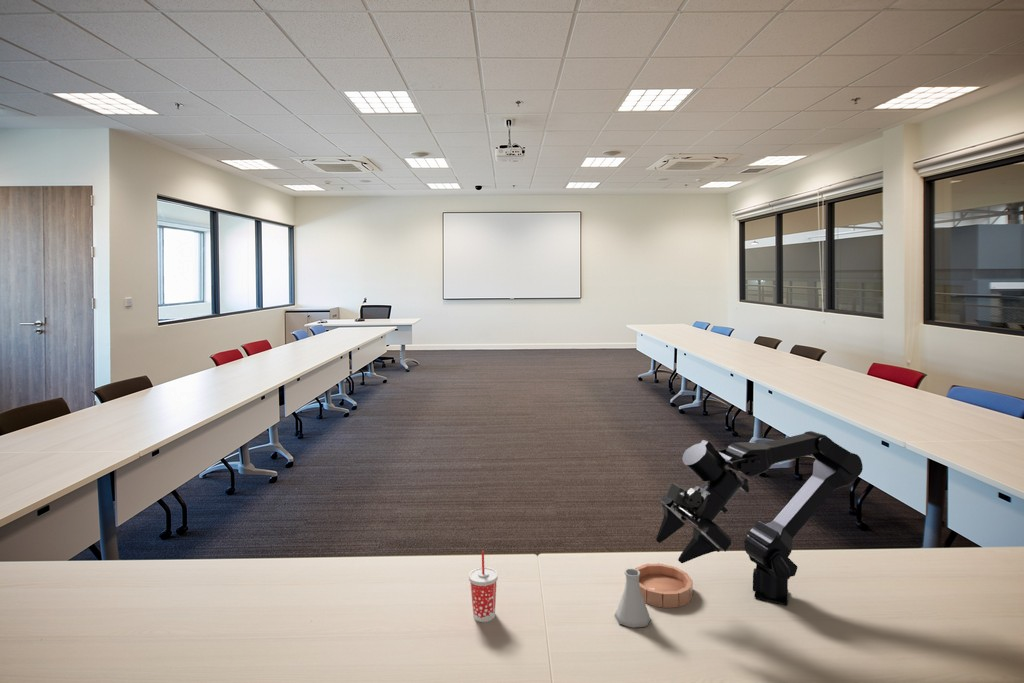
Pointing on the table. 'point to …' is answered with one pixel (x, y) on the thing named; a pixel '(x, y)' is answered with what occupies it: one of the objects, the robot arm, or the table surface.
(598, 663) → the table surface
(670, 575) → the bowl
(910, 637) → the table surface
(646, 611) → the flask
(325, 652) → the table surface
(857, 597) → the table surface
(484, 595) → the beverage cup
